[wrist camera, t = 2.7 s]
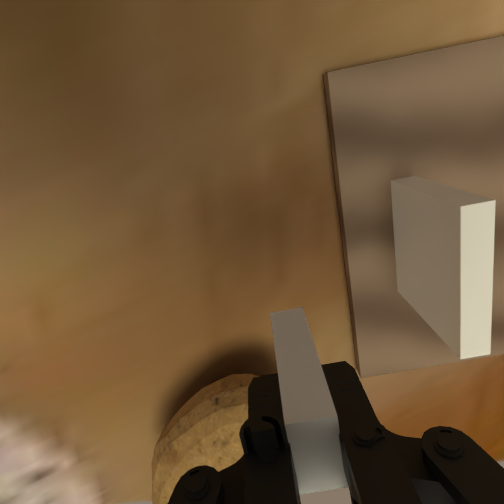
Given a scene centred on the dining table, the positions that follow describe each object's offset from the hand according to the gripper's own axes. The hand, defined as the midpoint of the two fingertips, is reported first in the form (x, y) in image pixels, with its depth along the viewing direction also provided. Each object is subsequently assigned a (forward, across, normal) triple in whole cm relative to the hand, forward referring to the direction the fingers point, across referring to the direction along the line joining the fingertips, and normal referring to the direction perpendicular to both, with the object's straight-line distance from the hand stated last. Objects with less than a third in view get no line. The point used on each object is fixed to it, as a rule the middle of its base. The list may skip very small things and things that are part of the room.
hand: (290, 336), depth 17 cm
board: (+10, +13, 0) cm, 16 cm away
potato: (+11, -6, -12) cm, 17 cm away
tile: (+9, +9, 0) cm, 13 cm away
